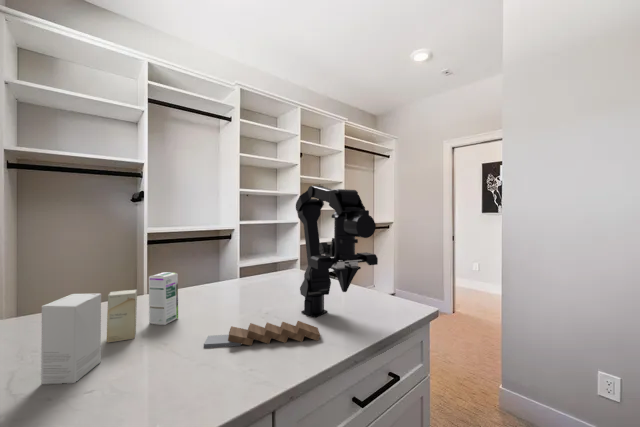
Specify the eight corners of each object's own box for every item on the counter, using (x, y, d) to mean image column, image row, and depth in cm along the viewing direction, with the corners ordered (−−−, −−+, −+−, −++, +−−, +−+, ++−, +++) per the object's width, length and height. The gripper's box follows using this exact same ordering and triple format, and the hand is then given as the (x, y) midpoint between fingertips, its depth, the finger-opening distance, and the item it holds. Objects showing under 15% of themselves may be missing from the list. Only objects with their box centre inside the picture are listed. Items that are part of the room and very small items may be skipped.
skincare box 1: (72, 363, 64) (72, 293, 64) (103, 362, 64) (104, 292, 64) (38, 386, 56) (38, 305, 55) (75, 384, 56) (75, 304, 56)
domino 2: (271, 329, 79) (250, 322, 78) (271, 338, 74) (249, 330, 73) (268, 335, 79) (248, 328, 78) (268, 343, 74) (246, 336, 73)
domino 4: (302, 328, 80) (282, 321, 79) (304, 336, 75) (283, 328, 74) (300, 333, 80) (280, 326, 79) (302, 342, 75) (280, 334, 74)
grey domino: (243, 333, 78) (208, 335, 77) (241, 342, 73) (203, 344, 72) (243, 339, 78) (208, 341, 77) (241, 348, 73) (203, 350, 72)
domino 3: (287, 329, 80) (266, 322, 79) (288, 337, 75) (266, 329, 74) (285, 334, 80) (264, 327, 79) (285, 343, 75) (264, 335, 74)
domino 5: (317, 327, 81) (297, 320, 80) (320, 335, 76) (299, 327, 75) (315, 333, 81) (295, 325, 80) (318, 340, 76) (297, 333, 75)
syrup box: (165, 325, 85) (165, 276, 85) (148, 323, 86) (148, 275, 86) (178, 318, 91) (178, 272, 91) (162, 317, 92) (162, 271, 92)
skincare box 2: (106, 343, 73) (106, 295, 73) (109, 336, 77) (109, 291, 77) (135, 338, 76) (135, 292, 76) (137, 332, 80) (137, 288, 80)
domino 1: (253, 330, 78) (231, 326, 76) (253, 339, 73) (229, 334, 71) (251, 336, 78) (229, 331, 76) (251, 345, 73) (227, 340, 71)
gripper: (357, 232, 91) (356, 282, 91) (302, 233, 82) (301, 288, 83) (379, 234, 81) (378, 290, 81) (318, 236, 72) (318, 299, 72)
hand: (344, 291), depth 79 cm, fingers closed
